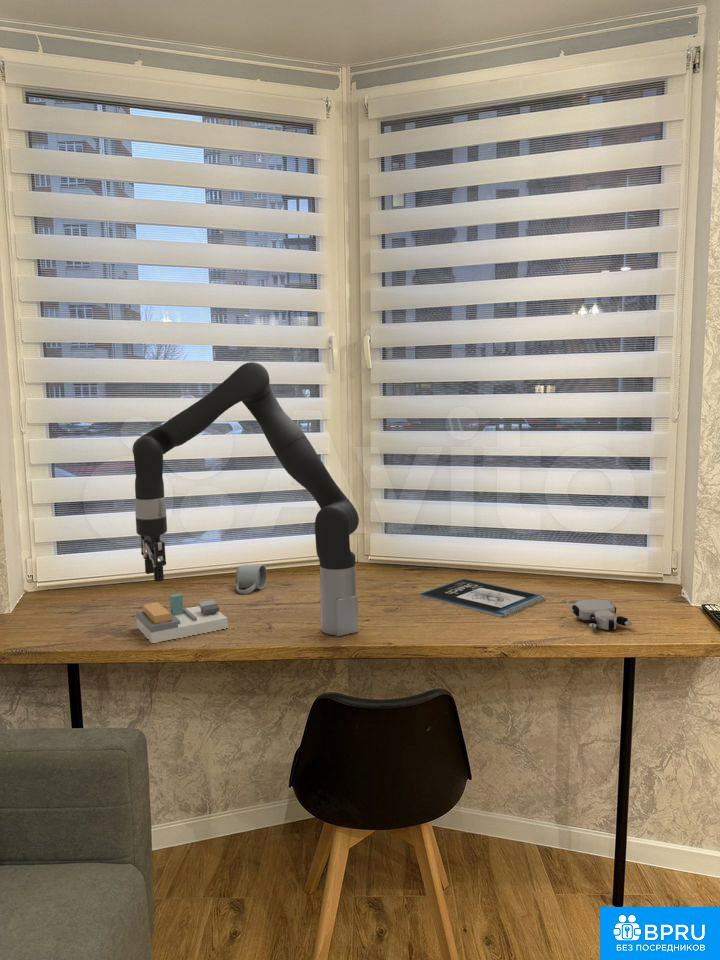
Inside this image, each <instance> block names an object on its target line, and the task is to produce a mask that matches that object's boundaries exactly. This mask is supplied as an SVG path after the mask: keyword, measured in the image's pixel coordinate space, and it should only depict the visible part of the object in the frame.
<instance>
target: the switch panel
mask: <svg viewBox="0 0 720 960" xmlns="http://www.w3.org/2000/svg"><path fill="white" fill-rule="evenodd" d="M166 610H167V611H168V612H169V613H170V617H171V621H168V622H162V623H157V624H155V623H154V622H153V621H152V620H151V619H150V618H149V617H148V616H147V615H146V614H145V613H144V612H143V610H139V611H136V628H139V630H140V631H141V632H142V633H143V634H144V635H145V636H146V637H147V638H148V639H149V641H150V642H151V643H155V642H159V641H164V640H169V639H176V638H181V639H184V638H183V637H186V636H191V637H193V636H192V635H196V636H198V635H197V634H201V635H203V634H202V633H205V634H208V633H207V632H210V633H212V632H211V631H215V632H217V631H216V630H220V631H222V630H221V629H225V630H227V629H226V628H228V629H229V626H228V624H229V623H228V617H227V616H226V615H224V614H223V613H222V612H220V611H219V612H215V613H210V614H204V613H201V609H200V607H199V605H197V606H192V607H187V608H186V607H184V606H183V614H177V615H173V614H172V613H171V610H169V609H166ZM139 630H138V631H139ZM140 631H139V632H140ZM141 632H140V633H141ZM142 633H141V634H142ZM143 634H142V635H143ZM144 635H143V636H144ZM145 636H144V637H145ZM186 638H187V637H186ZM176 640H177V639H176ZM149 641H148V642H149ZM150 642H149V643H150ZM151 643H150V644H151Z"/></svg>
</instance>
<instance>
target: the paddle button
mask: <svg viewBox="0 0 720 960" xmlns="http://www.w3.org/2000/svg"><path fill="white" fill-rule="evenodd" d="M167 610H168V609H166V608H165V607H164V606H163V605H162V604H160V602H158V601H157V602H152V603H147V604H143V605H142V611H143V612H144V613H145V614H146V615H147V616H148V617H149V618H150V619H151V620H152V621H153V622H154V623H155V624H157V623H162V622H168V621H171V617H170V613H169V612H168V611H167Z"/></svg>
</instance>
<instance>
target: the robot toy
mask: <svg viewBox="0 0 720 960" xmlns="http://www.w3.org/2000/svg"><path fill="white" fill-rule="evenodd" d="M566 604H567V606H568V607H569V609H570V610H571V613H573V614H574V615H575V616H576V617H578V618H579V619H580V620H582V621H588V627H589V628H592V629H596V628H597V627H598V629H599V630H612V629H613V630H616V629H617V624H618V625H620V626H622V627H625V626H626V627H627V626H628V627H630V626H632V625H633V622H632V621H631V620H628V618H627V617H624V616H621V615H620V616H617V615H616V614H617V609H618V608H617V607H616V605H615V604H614V603H613V602H612V600H611V599H609V600H604V599H599V598H598V599H595V598H594V599H593V598H592V599H591V598H590V599H582V600H577V601H576V602H574V603H573V605H572V607H571V605H570V603H569V602H568V601H567V602H566Z"/></svg>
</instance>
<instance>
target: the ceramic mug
mask: <svg viewBox="0 0 720 960" xmlns="http://www.w3.org/2000/svg"><path fill="white" fill-rule="evenodd" d="M234 578H235V580H234V581H235V583H236V585H235V588H236V591H237V593H239V594H241V595H248V594H250V593H253V591H254V590H263V589H264V588H265V587H266V585H267V579H268V573H267V568H266V566H265V565H264V564H262V563H261V564H243V565H239V566H238V567H237V569H236V570H235V577H234Z"/></svg>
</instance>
